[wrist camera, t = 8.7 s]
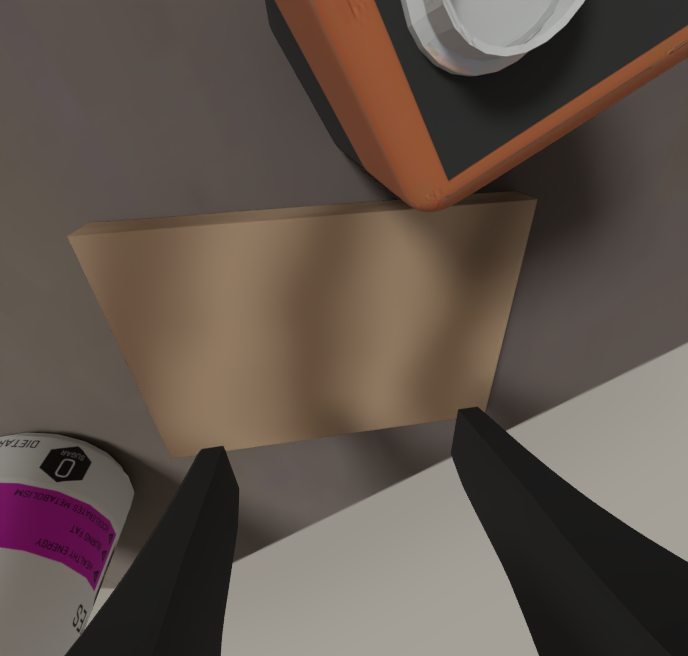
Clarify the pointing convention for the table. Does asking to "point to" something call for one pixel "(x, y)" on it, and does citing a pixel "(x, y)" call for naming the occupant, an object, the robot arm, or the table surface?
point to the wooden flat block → (309, 314)
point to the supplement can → (55, 538)
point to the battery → (468, 78)
